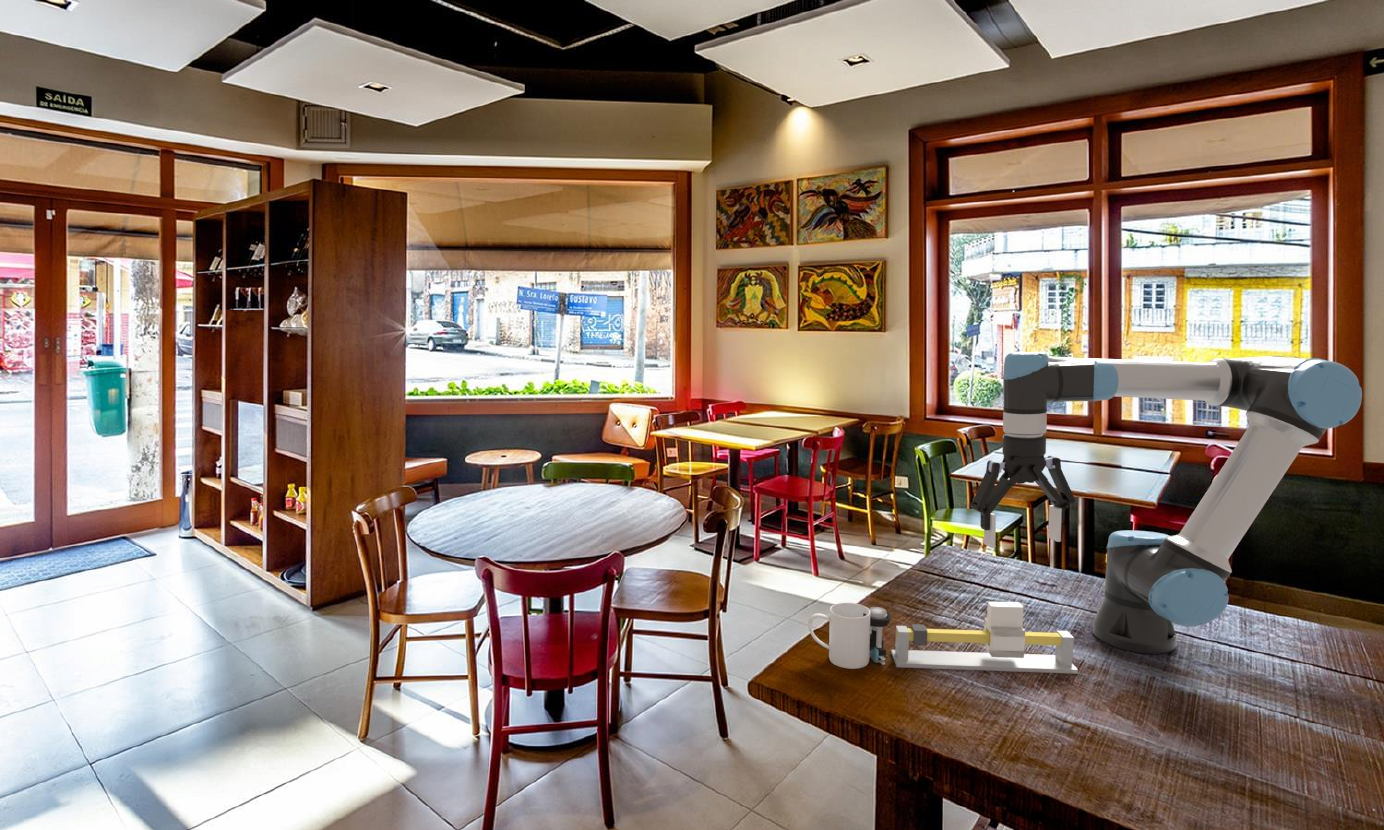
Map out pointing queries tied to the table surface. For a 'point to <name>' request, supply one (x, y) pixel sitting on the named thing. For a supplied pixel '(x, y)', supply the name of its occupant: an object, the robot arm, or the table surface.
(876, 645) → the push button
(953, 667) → the linear slide rail
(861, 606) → the mug
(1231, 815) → the table surface
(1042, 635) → the long yellow bar
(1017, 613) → the white stepped block
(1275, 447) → the robot arm
